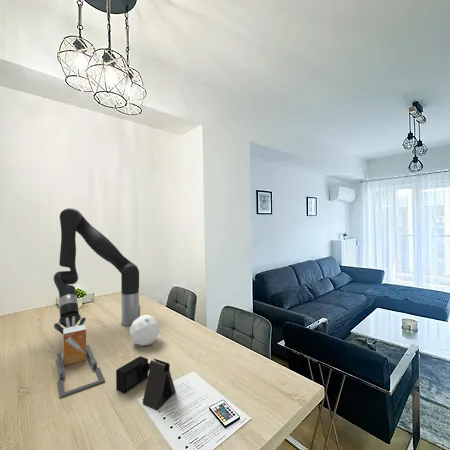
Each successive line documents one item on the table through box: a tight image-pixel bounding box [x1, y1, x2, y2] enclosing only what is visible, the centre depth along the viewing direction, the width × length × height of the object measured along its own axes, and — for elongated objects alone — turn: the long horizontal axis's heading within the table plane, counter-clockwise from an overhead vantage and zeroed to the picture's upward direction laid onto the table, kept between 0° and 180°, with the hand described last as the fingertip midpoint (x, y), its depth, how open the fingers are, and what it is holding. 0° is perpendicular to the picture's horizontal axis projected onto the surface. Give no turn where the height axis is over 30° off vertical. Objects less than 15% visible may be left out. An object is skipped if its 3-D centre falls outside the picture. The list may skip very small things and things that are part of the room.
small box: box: [62, 323, 87, 367], centre depth 104 cm, size 8×6×13 cm
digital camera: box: [115, 355, 150, 394], centre depth 88 cm, size 10×5×7 cm, turn 150°
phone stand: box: [142, 358, 177, 411], centre depth 81 cm, size 9×6×12 cm, turn 152°
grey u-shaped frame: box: [56, 344, 98, 381], centre depth 101 cm, size 12×18×2 cm, turn 37°
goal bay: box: [57, 367, 106, 399], centre depth 89 cm, size 14×10×1 cm
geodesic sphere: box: [129, 314, 161, 347], centre depth 117 cm, size 14×14×14 cm
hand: (72, 341), depth 111 cm, fingers closed
